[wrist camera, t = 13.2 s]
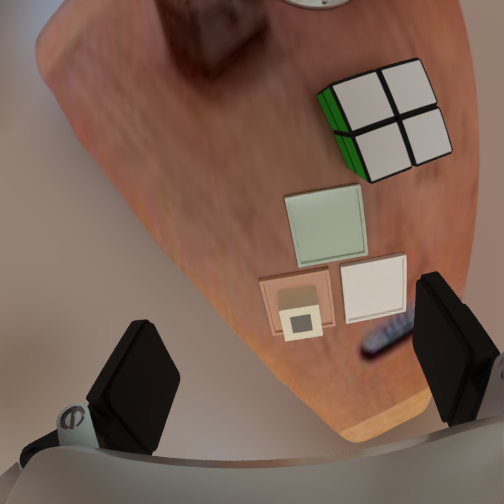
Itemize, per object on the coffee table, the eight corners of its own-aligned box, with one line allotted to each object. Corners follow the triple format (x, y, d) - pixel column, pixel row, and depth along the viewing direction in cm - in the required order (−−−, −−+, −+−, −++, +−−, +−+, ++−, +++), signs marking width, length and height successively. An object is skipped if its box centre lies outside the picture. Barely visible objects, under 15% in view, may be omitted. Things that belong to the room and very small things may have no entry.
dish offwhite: (339, 264, 41) (340, 267, 40) (403, 251, 39) (406, 254, 38) (345, 319, 44) (346, 323, 44) (403, 307, 43) (405, 311, 42)
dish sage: (284, 196, 38) (284, 198, 37) (358, 182, 36) (360, 184, 35) (298, 264, 41) (298, 267, 41) (366, 251, 40) (368, 254, 39)
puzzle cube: (416, 143, 33) (455, 153, 24) (347, 169, 36) (369, 186, 27) (387, 69, 30) (420, 55, 21) (315, 94, 33) (327, 84, 24)
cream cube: (279, 290, 43) (278, 311, 38) (315, 284, 42) (318, 304, 37) (285, 319, 45) (285, 342, 40) (319, 314, 44) (323, 336, 39)
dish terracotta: (259, 278, 43) (259, 281, 42) (327, 266, 41) (328, 269, 40) (273, 331, 46) (272, 335, 45) (334, 321, 45) (335, 325, 44)
